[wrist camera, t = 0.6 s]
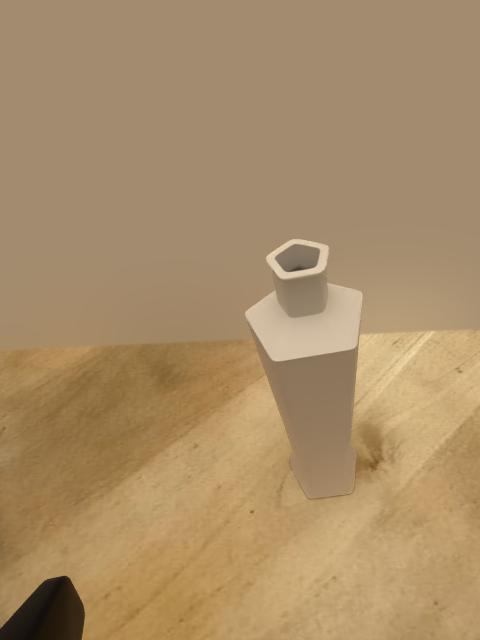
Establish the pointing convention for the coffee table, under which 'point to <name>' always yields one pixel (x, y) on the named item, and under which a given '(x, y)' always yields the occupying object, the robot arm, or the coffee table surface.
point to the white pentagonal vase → (311, 364)
